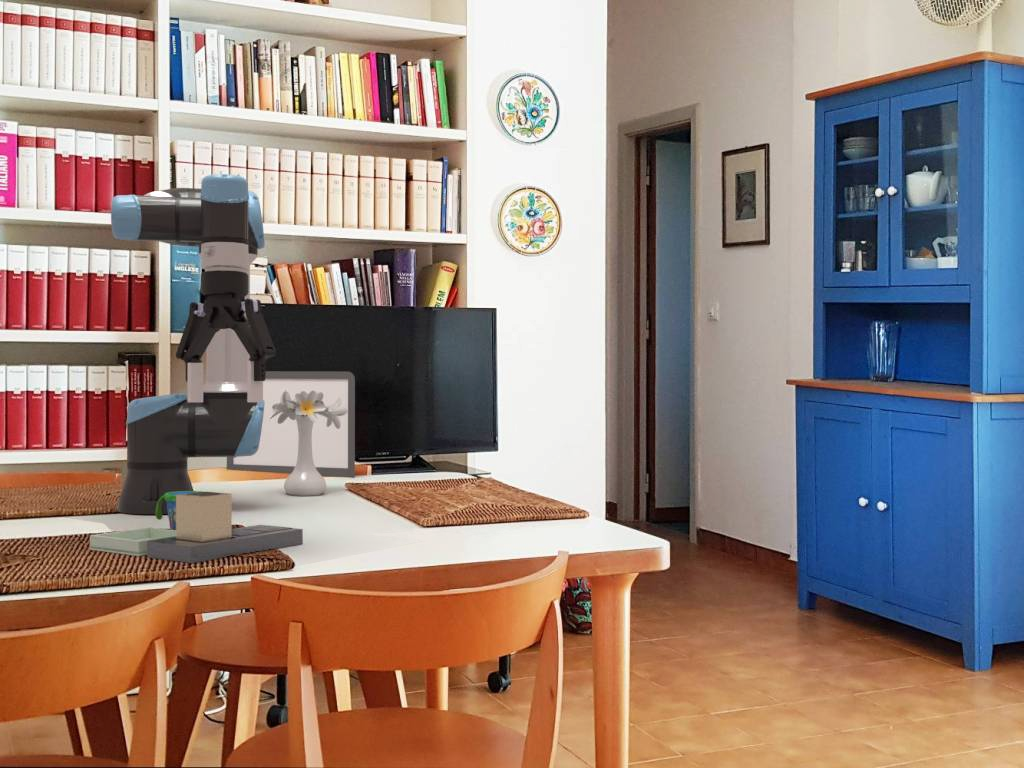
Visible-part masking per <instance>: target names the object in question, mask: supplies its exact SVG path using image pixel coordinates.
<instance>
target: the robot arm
mask: <svg viewBox="0 0 1024 768" xmlns="http://www.w3.org/2000/svg"><path fill="white" fill-rule="evenodd" d="M200 186H201V187H200V188H195V187H194V188H192V187H190V188H189V187H176V188H175V187H174V188H168V189H160V190H156V191H151V192H148V193H146V194H144V195H136V194H128V195H127V194H126V195H125V194H124V195H123V194H121V195H119V194H118V195H115V196H114V197H113V198H112V200H111V204H110V205H111V206H110V207H111V208H110V225H111V233H112V236H113V238H115V239H116V240H124V241H129V242H143V241H144V242H159V243H164V244H168V245H173V246H179V247H180V246H182V247H198V257H200V260H201V261H200V267H201V269H202V270H204V271H202V273H200V292H201V295H203V296H204V298H205V299H204V303H203V302H193V301H191V303H190V304H189V311H188V318H187V320H186V324H185V326H184V330H183V332H182V335H181V338H180V341H179V343H178V344H179V345H178V347H177V350H176V353H175V358H176V359H179V360H182V361H183V362H184V363H185V382H187V393H186V392H181V393H171V394H162V395H157V396H148V397H142V398H135V399H133V400H131V401H130V402H129V404H128V406H127V415H126V417H127V418H126V422H125V425H126V426H127V427H126V430H127V431H126V435H127V437H126V444H127V445H126V450H127V451H126V475H125V478H124V481H123V484H122V488H121V491H120V495H119V497H118V499H117V512H118V513H121V514H126V515H127V514H128V515H129V514H131V515H156V506H157V503H158V500H159V499H160V498H161V497H162V496H163V495H165V493H168V492H176V491H194V487H193V485H192V481H191V478H190V475H189V470H188V458H227V457H233V458H236V457H241V456H252V455H254V454H255V453H256V452H257V451H258V448H259V443H260V437H261V430H262V423H263V414H264V405H265V402H264V400H263V381H265V378H266V372H265V371H267V370H266V368H267V367H266V363H267V361H268V359H269V358H273V357H275V356H276V355H277V351H276V347H275V346H274V342H273V340H272V336H271V334H270V331H269V329H268V327H267V323H266V321H265V318H264V315H263V313H262V312H263V311H262V303H261V302H262V301H261V300H260V299H253V298H251V264H253V263H254V262H255V261H256V259H257V258H258V257H259V256H258V250H262V249H264V248H265V246H266V245H265V235H264V234H265V233H264V224H263V216H262V209H261V204H260V199H259V196H258V195H257V194H256V193H255V192H253V191H251V190H249V183H248V181H247V179H246V178H245V177H243V176H241V175H236V174H230V173H229V174H227V173H226V174H225V173H224V174H223V173H213V174H207V175H206V176H204V177H203V178H202V179H201V185H200ZM205 352H206V382H205V384H204V363H203V361H202V357H203V355H204V354H205ZM161 511H162V515H165V514H167V515H168V507H167V502H166V500H165V499H163V502H162V505H161Z"/></svg>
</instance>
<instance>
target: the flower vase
mask: <svg viewBox="0 0 1024 768" xmlns="http://www.w3.org/2000/svg"><path fill="white" fill-rule="evenodd" d="M322 399H323V393H322V392H319V393H317V394H316V391H314V390H313V391H311V392H310V393H309V394H308V393H307V392H305V391H302V392H301V394H298V393H297V394H295V399H294V400H293V401H291V398H290V395H289V393H288V392H287V391H286V390H285V392H283V394H282V396H281V400H280V403H276V404H274V405H273V406H272V408H273V413H274V412H275V413H274V414H273V415H272V417H271V418H273V417H274V416H276V415H277V414H279V413H281V412H283V413H282V414H281V415H280V416H279V418H278V424H281V423H283V422H284V421H285V420H286V419H287V418H288V417H289V418H290V419H291V420H295V419H296V421H297V426H298V458H297V463H296V466H295V468H294V470H293V472H292V473H291V474H288V476H287V477H286V479H285V480H284V483H283V489H284V491H285V492H286V494H287V495H289V496H294V497H315V496H321V495H322V494H323V493H324V492H325V490H326V489H327V484H326V483H327V482H326V480H325V478H324V476H321V475H320V474H319V472H318V471H317V469H316V467H315V465H314V462H313V455H312V428H313V422H316V421H317V415H316V413H317V414H319V415H322V416H325V417H326V418H327V424H326V425H327V427H329V426H330V425H331V423H332V422H333V423H334V425H335V427H336V428H337V429H339V428H340V419H339V418H338V417H337V416H343V415H345V414H346V413H347V411H348V409H347V408H345V407H340V408H337V407H339V406H340V404H341V401H342V398H341V397H339V398H338V399H337V401H336V402H335V403H334V404H333V405H329V406H328V408H327V407H326V406H325V405H324V402H323V401H322ZM327 412H328V413H327ZM304 414H306V415H304ZM271 418H270V419H271ZM270 419H269V420H270ZM331 420H332V421H331Z"/></svg>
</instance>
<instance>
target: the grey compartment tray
mask: <svg viewBox="0 0 1024 768" xmlns="http://www.w3.org/2000/svg"><path fill="white" fill-rule="evenodd" d="M303 536H304V535H303V529H302V528H296V527H295V528H294V527H287V526H276V525H266V524H257V525H250V526H249V525H248V526H241V527H234V528H232V539H226V540H220V541H213V542H207V543H195V542H187V541H179V540H176V537H173V538H166V539H159V540H152V541H147V555H146V557H147V558H151V559H157V560H164V561H165V560H166V561H172V562H173V561H174V562H180V563H186V564H187V563H188V564H194V563H200V562H207V561H211V560H216V558H218V559H222V558H221V557H224V558H227V557H226V556H230V555H236V556H238V555H237V554H242V553H247V554H249V553H248V552H253V553H256V552H255V551H259V552H263V551H262V550H265V551H269V549H271V550H275V549H280V548H281V549H282V548H287V547H293V546H294V547H295V546H298V545H303ZM242 555H243V554H242ZM230 557H231V556H230Z"/></svg>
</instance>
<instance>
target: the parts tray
mask: <svg viewBox="0 0 1024 768" xmlns="http://www.w3.org/2000/svg"><path fill="white" fill-rule="evenodd" d="M173 537H176V530H170V528H169V529H168V528H167V529H166V528H158V527H143V528H135V529H128V530H121V531H113V532H107V533H97V534H90V535H89V550H91V551H97V552H106V553H114V554H120V555H127V556H128V555H129V556H135V557H142V556H143V557H144V556H147V541H152V540H159V539H166V538H173Z"/></svg>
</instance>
